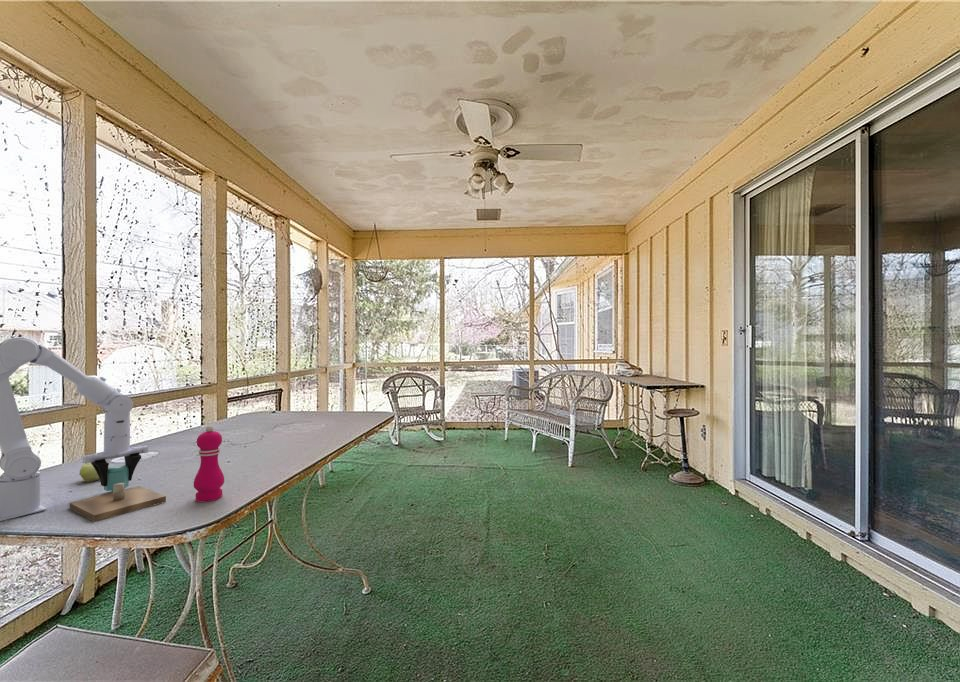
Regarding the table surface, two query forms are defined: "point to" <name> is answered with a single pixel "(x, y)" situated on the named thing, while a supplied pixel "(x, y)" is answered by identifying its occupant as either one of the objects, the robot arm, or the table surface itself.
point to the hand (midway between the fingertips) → (116, 482)
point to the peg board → (116, 502)
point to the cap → (117, 476)
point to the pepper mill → (209, 467)
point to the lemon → (88, 472)
